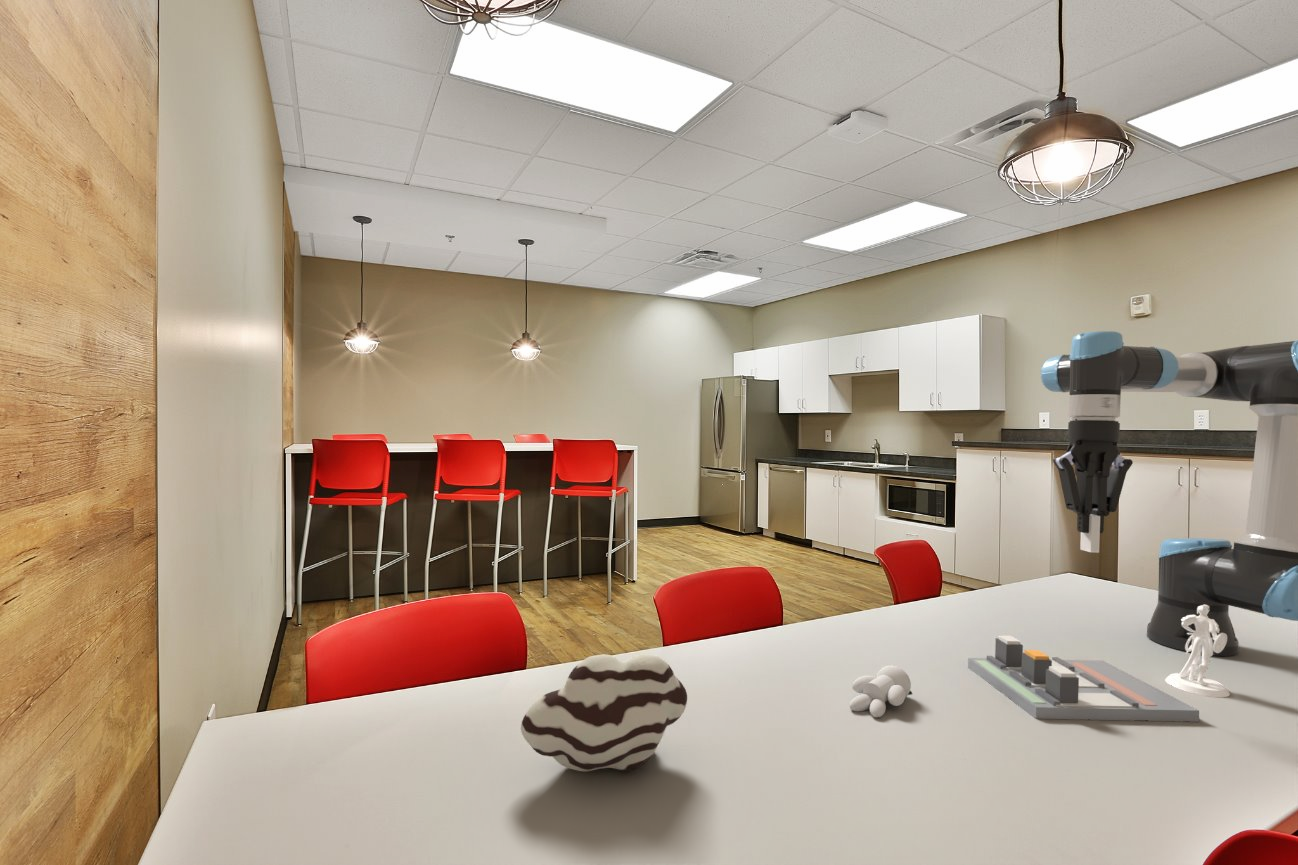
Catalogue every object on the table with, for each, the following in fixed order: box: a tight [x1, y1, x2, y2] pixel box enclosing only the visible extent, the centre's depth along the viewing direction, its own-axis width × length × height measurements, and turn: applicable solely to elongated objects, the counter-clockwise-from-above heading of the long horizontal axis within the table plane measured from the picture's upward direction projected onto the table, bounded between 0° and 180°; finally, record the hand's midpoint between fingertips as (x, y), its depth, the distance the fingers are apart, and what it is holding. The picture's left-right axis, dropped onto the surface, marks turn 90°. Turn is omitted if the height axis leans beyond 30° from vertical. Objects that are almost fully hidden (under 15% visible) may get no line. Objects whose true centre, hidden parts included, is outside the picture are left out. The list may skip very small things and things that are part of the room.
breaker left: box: [994, 635, 1024, 667], centre depth 117 cm, size 3×4×5 cm
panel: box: [967, 655, 1200, 723], centre depth 110 cm, size 26×21×2 cm
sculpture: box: [520, 653, 688, 772], centre depth 82 cm, size 22×12×15 cm, turn 106°
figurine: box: [1165, 605, 1231, 698], centre depth 114 cm, size 9×9×15 cm
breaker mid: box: [1021, 649, 1052, 684], centre depth 110 cm, size 3×4×5 cm
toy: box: [849, 664, 912, 719], centre depth 104 cm, size 8×6×15 cm
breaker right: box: [1045, 666, 1079, 703], centre depth 102 cm, size 3×4×5 cm
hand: (1089, 550), depth 112 cm, fingers closed
